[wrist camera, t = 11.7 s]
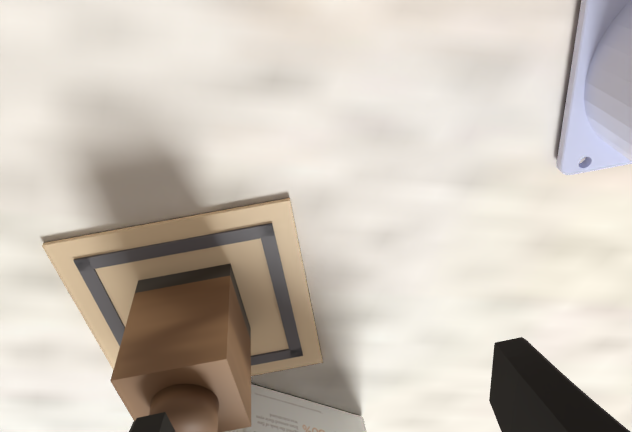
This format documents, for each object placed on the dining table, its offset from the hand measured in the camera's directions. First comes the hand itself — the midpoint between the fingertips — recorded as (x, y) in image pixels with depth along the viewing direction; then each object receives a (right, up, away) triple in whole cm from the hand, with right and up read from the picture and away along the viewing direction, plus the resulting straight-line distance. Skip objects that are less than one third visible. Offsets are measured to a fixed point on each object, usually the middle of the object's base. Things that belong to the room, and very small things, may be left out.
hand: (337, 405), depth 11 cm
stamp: (-6, 0, +11) cm, 13 cm away
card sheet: (-6, 0, +12) cm, 13 cm away
